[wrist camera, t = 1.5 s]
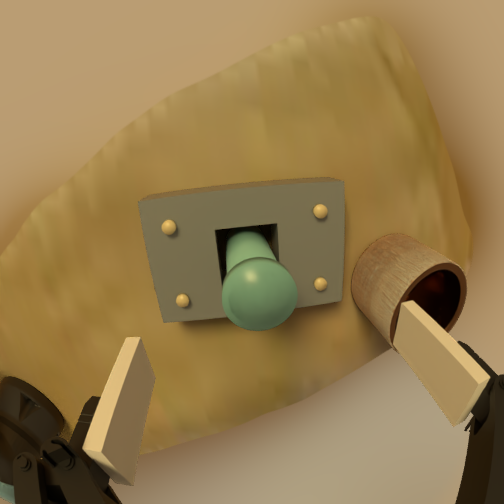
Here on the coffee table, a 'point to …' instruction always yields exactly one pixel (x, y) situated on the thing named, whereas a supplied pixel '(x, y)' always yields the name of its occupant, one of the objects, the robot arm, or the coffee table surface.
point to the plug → (255, 282)
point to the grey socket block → (240, 215)
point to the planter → (407, 283)
